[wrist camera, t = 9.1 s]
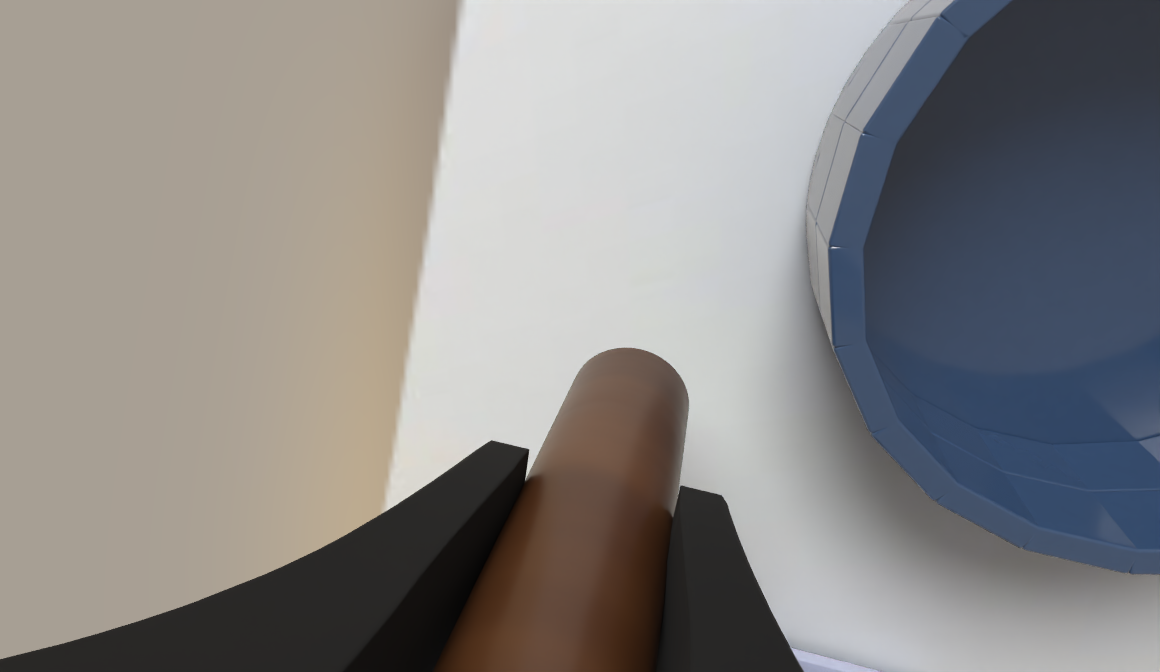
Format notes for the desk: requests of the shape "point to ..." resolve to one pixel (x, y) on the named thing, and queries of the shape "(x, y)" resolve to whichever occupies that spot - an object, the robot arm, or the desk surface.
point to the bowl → (1005, 265)
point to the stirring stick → (585, 532)
